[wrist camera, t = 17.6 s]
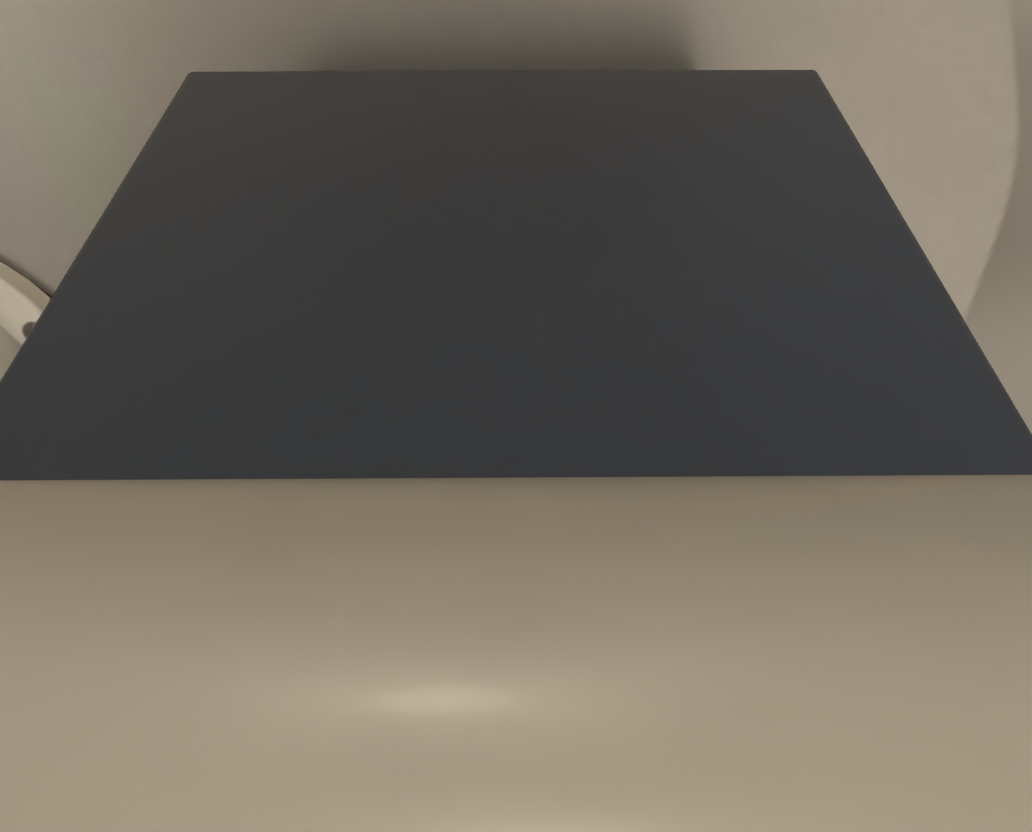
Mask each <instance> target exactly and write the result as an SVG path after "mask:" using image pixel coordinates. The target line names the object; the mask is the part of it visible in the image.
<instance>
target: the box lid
mask: <svg viewBox="0 0 1032 832" xmlns="http://www.w3.org/2000/svg"><path fill="white" fill-rule="evenodd" d="M0 832H1032V434H1031V432H1030V431H1029V429H1028V427H1027V426H1026V424H1025V423H1024V421H1023V419H1022V417H1021V416H1020V414H1019V412H1018V411H1017V409H1016V407H1015V406H1014V404H1013V402H1012V401H1011V399H1010V397H1009V395H1008V394H1007V392H1006V390H1005V389H1004V387H1003V385H1002V384H1001V382H1000V381H999V379H998V377H997V375H996V373H995V372H994V370H993V368H992V367H991V365H990V363H989V362H988V360H987V358H986V357H985V355H984V353H983V352H982V350H981V348H980V346H979V345H978V343H977V342H976V340H975V338H974V336H973V335H972V333H971V331H970V330H969V328H968V326H967V325H966V323H965V321H964V319H963V318H962V316H961V314H960V313H959V311H958V309H957V308H956V306H955V304H954V303H953V301H952V299H951V298H950V296H949V294H948V292H947V291H946V289H945V287H944V286H943V284H942V282H941V281H940V279H939V277H938V276H937V274H936V272H935V271H934V269H933V267H932V265H931V264H930V262H929V260H928V259H927V257H926V255H925V254H924V252H923V250H922V249H921V247H920V245H919V244H918V242H917V240H916V238H915V237H914V235H913V233H912V232H911V230H910V228H909V227H908V225H907V223H906V222H905V220H904V218H903V217H902V215H901V213H900V211H899V210H898V208H897V206H896V205H895V203H894V201H893V200H892V198H891V196H890V195H889V193H888V191H887V190H886V188H885V186H884V184H883V183H882V181H881V179H880V178H879V176H878V174H877V173H876V171H875V169H874V168H873V166H872V164H871V163H870V161H869V159H868V157H867V156H866V154H865V152H864V151H863V149H862V147H861V146H860V144H859V142H858V141H857V139H856V137H855V136H854V134H853V132H852V131H851V129H850V127H849V125H848V124H847V122H846V120H845V119H844V117H843V115H842V114H841V112H840V110H839V109H838V107H837V105H836V104H835V102H834V100H833V98H832V97H831V95H830V93H829V92H828V90H827V88H826V87H825V85H824V83H823V82H822V80H821V78H820V77H819V75H818V73H817V72H816V71H814V70H626V71H286V72H191V73H189V74H188V75H187V77H186V79H185V80H184V82H183V83H182V85H181V87H180V88H179V90H178V92H177V93H176V95H175V97H174V98H173V100H172V101H171V103H170V105H169V106H168V108H167V110H166V111H165V113H164V114H163V116H162V118H161V119H160V121H159V123H158V124H157V126H156V128H155V129H154V131H153V132H152V134H151V136H150V137H149V139H148V141H147V142H146V144H145V146H144V147H143V149H142V150H141V152H140V154H139V155H138V157H137V159H136V160H135V162H134V163H133V165H132V167H131V168H130V170H129V172H128V173H127V175H126V177H125V178H124V180H123V181H122V183H121V185H120V186H119V188H118V190H117V191H116V193H115V194H114V196H113V198H112V199H111V201H110V203H109V204H108V206H107V208H106V209H105V211H104V212H103V214H102V216H101V217H100V219H99V221H98V222H97V224H96V226H95V227H94V229H93V230H92V232H91V234H90V235H89V237H88V239H87V240H86V242H85V243H84V245H83V247H82V248H81V250H80V252H79V253H78V255H77V257H76V258H75V260H74V261H73V263H72V265H71V266H70V268H69V270H68V271H67V273H66V274H65V276H64V278H63V279H62V281H61V283H60V284H59V286H58V288H57V289H56V291H55V292H54V294H53V296H52V297H51V299H50V301H49V302H48V304H47V306H46V307H45V309H44V310H43V312H42V314H41V315H40V317H39V319H38V320H37V322H36V323H35V325H34V327H33V328H32V330H31V332H30V333H29V335H28V337H27V338H26V340H25V341H24V343H23V345H22V346H21V348H20V350H19V351H18V353H17V354H16V356H15V358H14V359H13V361H12V363H11V364H10V366H9V368H8V369H7V371H6V372H5V374H4V376H3V377H2V379H1V381H0Z"/></svg>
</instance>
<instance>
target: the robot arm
mask: <svg viewBox="0 0 1032 832" xmlns="http://www.w3.org/2000/svg"><path fill="white" fill-rule="evenodd" d="M50 299H51V298H50V297H48V296H47V295H46V294H45V293H44V292H43V291H42V290H40V289H39V288H38V287H37V286H36V285H35V284H33V283H32V282H31V281H30V280H28V279H27V278H25V277H24V276H22V275H20V274H19V273H17V272H16V271H14V270H13V269H11V268H10V267H8V266H7V265H5V264H4V263H2V262H0V381H1V379H2V377H3V376H4V374H5V372H6V371H7V369H8V368H9V366H10V364H11V363H12V361H13V359H14V358H15V356H16V354H17V353H18V351H19V350H20V348H21V346H22V345H23V343H24V341H25V340H26V338H27V337H28V335H29V333H30V332H31V330H32V328H33V327H34V325H35V323H36V322H37V320H38V319H39V317H40V315H41V314H42V312H43V310H44V309H45V307H46V306H47V304H48V302H49V301H50Z"/></svg>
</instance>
